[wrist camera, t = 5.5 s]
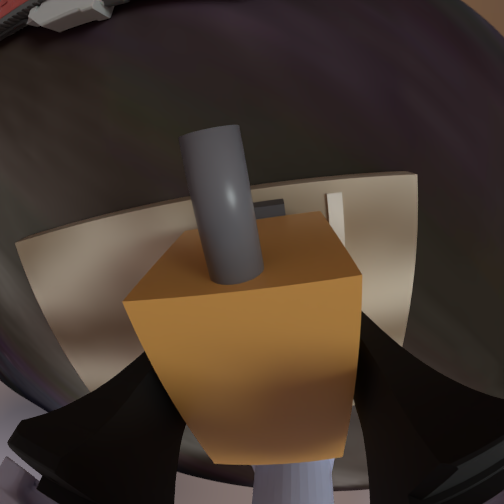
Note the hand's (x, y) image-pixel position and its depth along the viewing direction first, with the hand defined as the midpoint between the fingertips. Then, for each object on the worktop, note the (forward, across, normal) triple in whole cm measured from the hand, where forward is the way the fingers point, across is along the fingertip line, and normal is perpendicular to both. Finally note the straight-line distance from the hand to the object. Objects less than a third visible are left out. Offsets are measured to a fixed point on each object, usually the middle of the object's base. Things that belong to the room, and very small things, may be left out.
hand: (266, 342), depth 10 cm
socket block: (+2, 0, -2) cm, 2 cm away
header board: (+4, +4, +2) cm, 6 cm away
